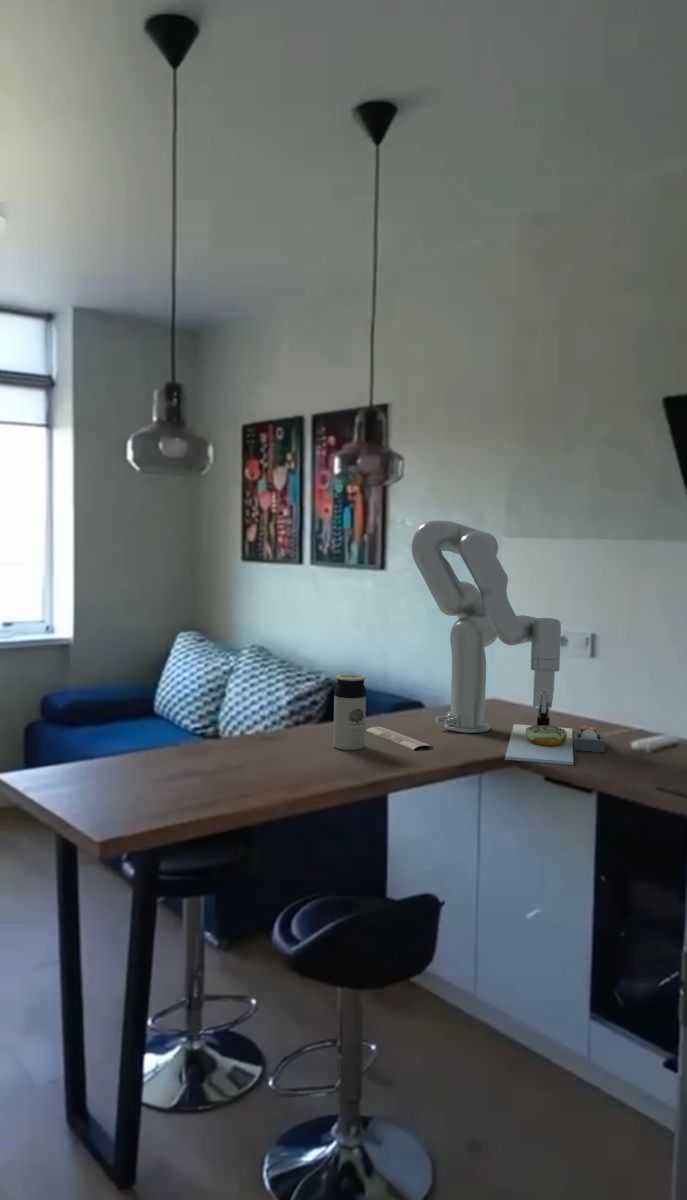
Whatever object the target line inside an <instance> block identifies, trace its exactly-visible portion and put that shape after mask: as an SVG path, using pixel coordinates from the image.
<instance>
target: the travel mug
mask: <svg viewBox="0 0 687 1200" xmlns="http://www.w3.org/2000/svg"><path fill="white" fill-rule="evenodd" d="M335 678H336V683H337V684H336V686H335V687H334V697H333V698H334V699H333V702H334V703H333V739H332V740H333V741H332V744H333V747H334V748H335V749H337V750H340V751H358V750H362V749H364V748H365V747H366V743H365V742H366V715H367V714H366V711H367V689H366V687H365V685H364V684H365V680H366V678H367V677H366V676H365V675H362V674H356V673H355V674H353V673H349V674H348V673H347V674H345V673H343V674H337V675H335Z"/></svg>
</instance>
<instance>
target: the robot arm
mask: <svg viewBox="0 0 687 1200" xmlns="http://www.w3.org/2000/svg"><path fill="white" fill-rule="evenodd" d="M442 551H443V552H445V551H446V552H451V553H454V554H457V555H460V557H461V559H462V561H463V563H464V565H465V566H466V568H467V570H468V571H469V573H470V576H471V577H472V579H473V581H474V583H475V585H476V586H477V587H476V586H475V585H474V584H472V583H471V582H468V581H460V579H459V577H458V576H457V575H456V573H455V571H454V569H453V567H452V565H451V563H450V562H449V561H448V559H447V558H446V557H445V556H444V555H443V552H442ZM498 552H499V543H498V541H497V539H496V538H495V536H494V535H492V534H491V533H490V532H487V531H483V530H480V529H476V528H473V527H470V526H466V525H464V524H461V523H458V522H454V521H447V520H430V521H426V522H425V523H422V524H421V525H420V526H419V527H418V528H417V529H416V531H415V533H414V534H413V538H412V540H411V555H412V558H413V561H414V563H415V565H416V567H417V568H418V571H419V572H420V574H421V576H422V578H423V580H424V582H425V583H426V586H427V587H428V589H429V591H430V594H431V595H432V598H433V599H434V601H435V603H436V604H437V607H438V608H439V610H440V611H441V612H442V614H443V615H446V616H450V617H451V616H452V617H453V616H455V617H456V616H457V618H458V619H457V620H456V622H454V624H453V625H452V627H451V630H450V634H449V639H450V648H451V650H450V651H451V681H450V682H451V684H450V685H451V687H450V688H451V689H450V711H446V714H445V715H437V716H434V717H435V718H434V721H435V723H436V724H442V723H443V724H444V725H443V726H444V729H446V730H449V731H452V732H456V733H457V732H459V733H469V734H471V733H472V734H475V733H476V734H478V733H485V732H488V731H490V728H491V725H490V724H489V723H486V722H485V715H486V714H485V713H486V712H485V711H486V710H485V709H486V708H485V707H486V685H487V657H486V651H485V648H487V647H489V646H491V645H492V644H493V643H495V642H496V640H497V638H498V639H499V640H500V641H501V642H502V643H503V644H505V645H507V646H517V645H520V644H521V645H522V644H525V643H531V645H530V646H531V648H530V670H531V671H534V672H533V674H534V675H533V690H532V691H533V693H532V695H533V698H532V705H533V706H532V707H533V708H536V707H537V708H538V710H537V711H538V715H537V718H536V720H537V721H536V725H550V721H551V720H550V718H551V717H550V714H549V713H550V709H551V708H552V706H553V703H554V702H553V700H554V691H555V679H556V678H555V675H556V674H555V673H556V672H559V671H560V664H561V663H560V660H561V637H562V635H561V634H562V630H561V629H562V624H561V622H560V620H559V619H557V618H553V617H538V618H537V617H534V616H530V615H528V616H527V615H523V614H522V615H517V614H516V613H515V611H514V609H513V607H512V605H511V603H510V600H509V597H508V593H507V589H508V588H507V587H508V584H509V577H508V575H507V572H506V571H505V569H504V567H503V565H502V564H501V563H500V560H499V558H498V557H497V555H498Z"/></svg>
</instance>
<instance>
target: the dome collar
mask: <svg viewBox="0 0 687 1200" xmlns="http://www.w3.org/2000/svg"><path fill="white" fill-rule="evenodd" d="M581 734H582V733H580V732H573V735H572V740H573V751H576V750H582V751H581V752H588V751H592V753H601V752H604V753H605V746H606V740H605V735H604V734H600V733H599V734H597V733H596V735H597V738H598V740H595V739H582V738H580V737H581Z"/></svg>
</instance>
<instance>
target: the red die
mask: <svg viewBox="0 0 687 1200" xmlns="http://www.w3.org/2000/svg"><path fill="white" fill-rule="evenodd" d="M579 727H580V728H579V733H582V732H583V731H584V730H587V729H591V730H593V731H594V732H595V733H596V734H597V727H596V726H589V725H580V726H579Z"/></svg>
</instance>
